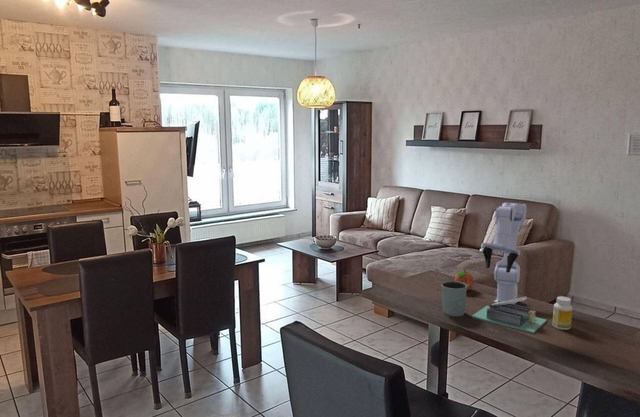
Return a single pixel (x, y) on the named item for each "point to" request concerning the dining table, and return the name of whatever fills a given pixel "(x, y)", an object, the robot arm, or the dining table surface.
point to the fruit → (465, 278)
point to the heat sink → (511, 314)
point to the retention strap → (509, 301)
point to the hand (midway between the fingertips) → (497, 269)
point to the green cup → (454, 298)
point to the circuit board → (525, 327)
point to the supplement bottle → (562, 313)
